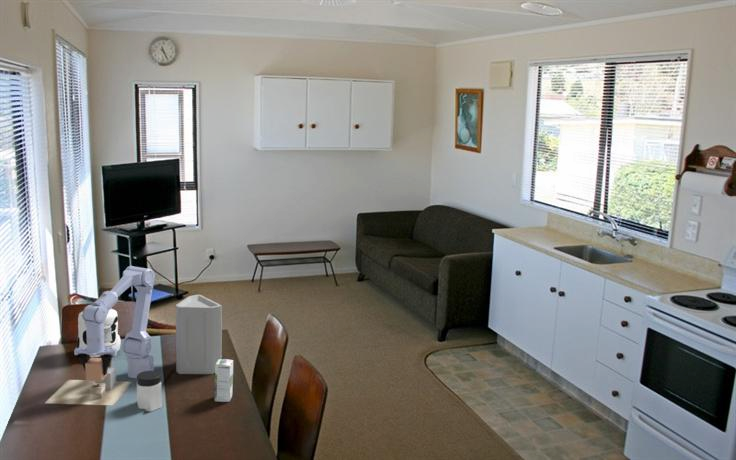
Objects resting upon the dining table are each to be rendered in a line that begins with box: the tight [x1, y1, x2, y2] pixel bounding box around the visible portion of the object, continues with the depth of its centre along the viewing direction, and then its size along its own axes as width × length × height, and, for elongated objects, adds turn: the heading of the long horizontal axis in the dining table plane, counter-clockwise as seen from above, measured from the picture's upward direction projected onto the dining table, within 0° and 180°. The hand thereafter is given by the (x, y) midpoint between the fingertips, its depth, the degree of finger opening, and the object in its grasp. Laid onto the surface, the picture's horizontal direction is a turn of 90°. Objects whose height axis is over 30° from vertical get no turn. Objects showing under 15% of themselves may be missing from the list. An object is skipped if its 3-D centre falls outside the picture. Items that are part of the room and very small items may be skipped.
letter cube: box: [90, 383, 106, 399], centre depth 240 cm, size 4×4×4 cm
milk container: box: [76, 308, 122, 358], centre depth 279 cm, size 17×17×18 cm
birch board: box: [44, 379, 132, 406], centre depth 243 cm, size 24×20×1 cm
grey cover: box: [95, 366, 117, 390], centre depth 247 cm, size 6×6×6 cm
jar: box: [136, 370, 163, 412], centre depth 235 cm, size 9×8×12 cm
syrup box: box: [213, 358, 234, 403], centre depth 243 cm, size 6×6×14 cm
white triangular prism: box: [175, 294, 223, 375], centre depth 268 cm, size 19×15×28 cm
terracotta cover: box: [84, 358, 107, 381], centre depth 238 cm, size 6×6×6 cm
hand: (96, 373), depth 238 cm, fingers closed on terracotta cover, 6 cm apart
